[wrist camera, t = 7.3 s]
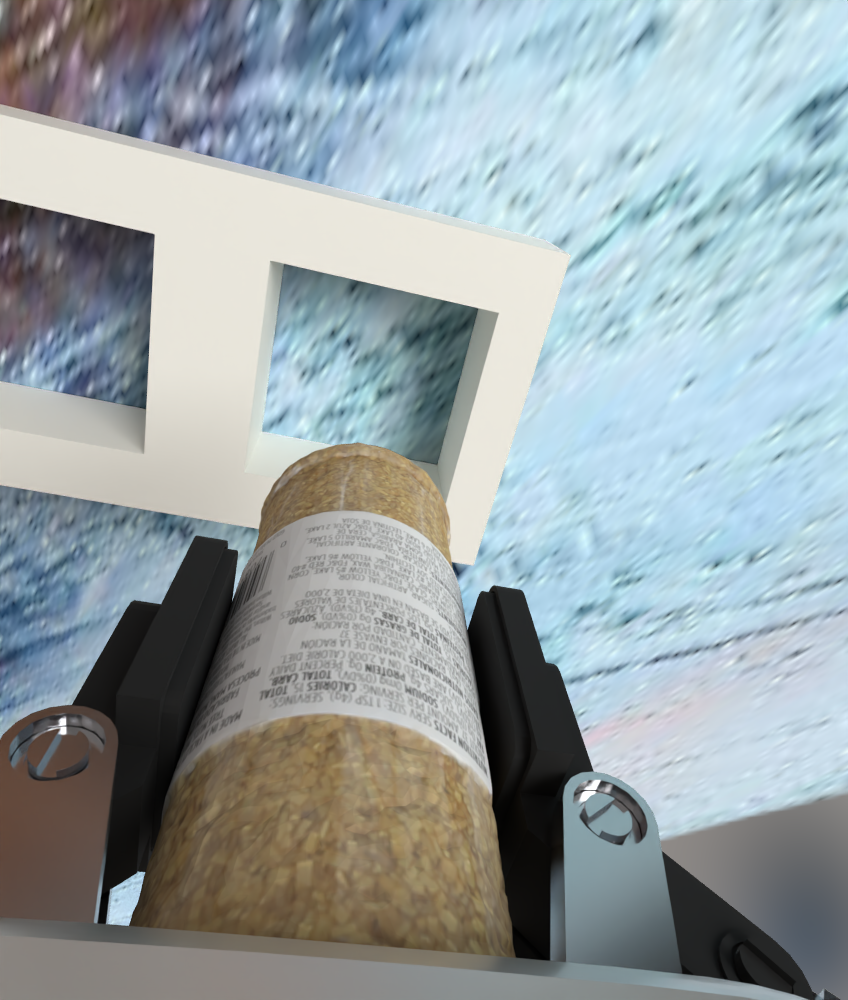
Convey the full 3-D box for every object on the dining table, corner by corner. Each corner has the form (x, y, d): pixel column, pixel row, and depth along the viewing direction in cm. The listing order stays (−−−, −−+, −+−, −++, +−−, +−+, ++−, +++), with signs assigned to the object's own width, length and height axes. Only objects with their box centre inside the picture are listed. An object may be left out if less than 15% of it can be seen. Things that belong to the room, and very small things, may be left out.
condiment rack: (-101, 79, 22) (-194, 66, 18) (544, 239, 25) (571, 254, 22) (-66, 420, 27) (-133, 462, 24) (463, 516, 30) (473, 565, 27)
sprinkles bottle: (370, 629, 18) (341, 1612, 6) (222, 533, 16) (-235, 1600, 4) (490, 511, 16) (780, 1491, 4) (340, 393, 15) (153, 1405, 3)
